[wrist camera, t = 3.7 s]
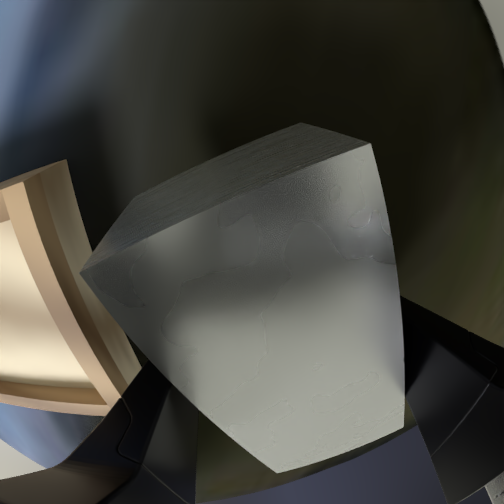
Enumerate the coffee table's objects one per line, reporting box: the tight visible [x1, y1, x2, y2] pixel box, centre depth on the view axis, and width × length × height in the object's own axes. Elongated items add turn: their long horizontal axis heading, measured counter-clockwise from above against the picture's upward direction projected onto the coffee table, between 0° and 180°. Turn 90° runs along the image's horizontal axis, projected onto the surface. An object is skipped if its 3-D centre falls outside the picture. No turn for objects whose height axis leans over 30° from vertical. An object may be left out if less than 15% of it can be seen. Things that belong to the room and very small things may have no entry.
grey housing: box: [79, 123, 405, 473], centre depth 8 cm, size 10×5×4 cm, turn 23°
